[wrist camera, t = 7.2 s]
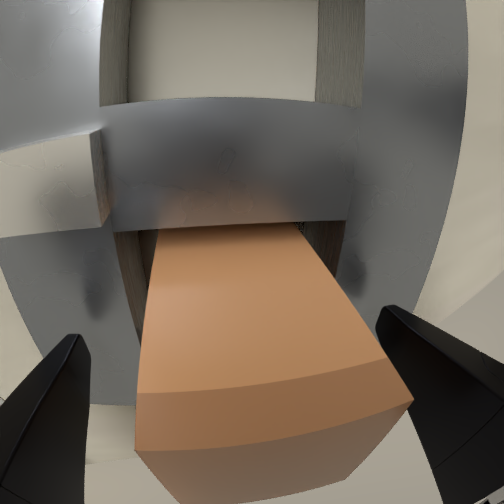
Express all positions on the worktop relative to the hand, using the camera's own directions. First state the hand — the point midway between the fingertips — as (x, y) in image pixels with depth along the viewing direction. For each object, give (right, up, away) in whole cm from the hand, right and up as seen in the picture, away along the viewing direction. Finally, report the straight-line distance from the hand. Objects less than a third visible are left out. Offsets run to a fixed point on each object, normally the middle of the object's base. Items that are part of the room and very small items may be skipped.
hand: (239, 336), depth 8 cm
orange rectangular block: (-1, +2, +3) cm, 4 cm away
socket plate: (-1, +6, +1) cm, 6 cm away
